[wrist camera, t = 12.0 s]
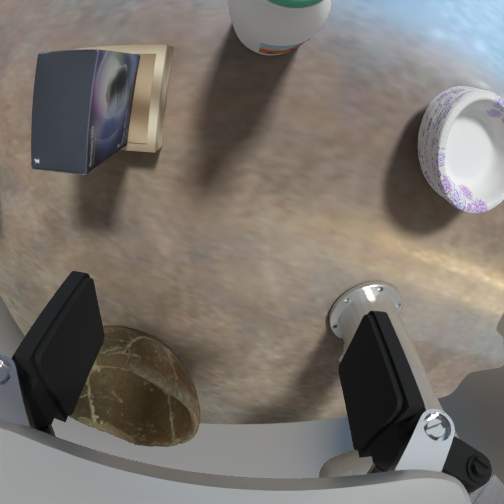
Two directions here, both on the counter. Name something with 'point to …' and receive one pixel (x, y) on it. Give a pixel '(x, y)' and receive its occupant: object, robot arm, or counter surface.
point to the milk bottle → (277, 23)
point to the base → (147, 95)
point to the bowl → (139, 391)
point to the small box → (81, 108)
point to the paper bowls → (464, 148)
